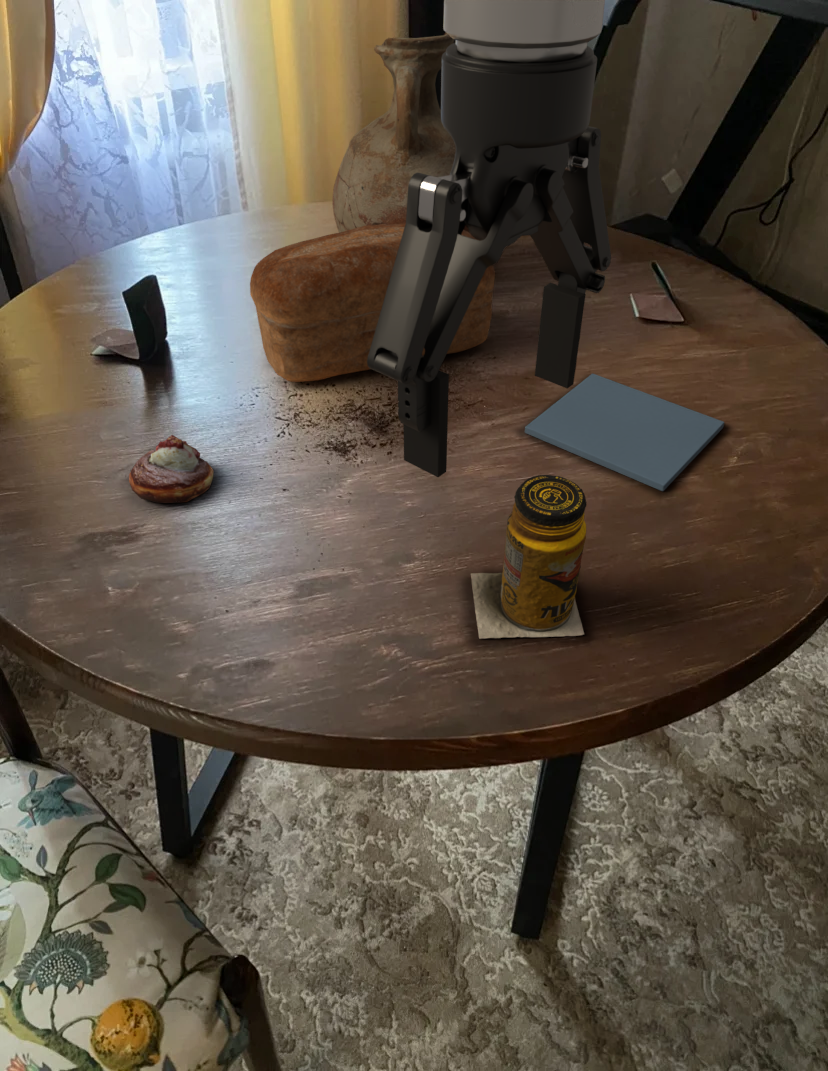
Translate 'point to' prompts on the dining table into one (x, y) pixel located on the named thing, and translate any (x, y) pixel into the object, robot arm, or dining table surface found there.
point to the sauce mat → (626, 430)
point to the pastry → (171, 473)
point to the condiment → (536, 565)
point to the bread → (339, 302)
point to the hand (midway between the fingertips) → (494, 420)
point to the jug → (396, 139)
